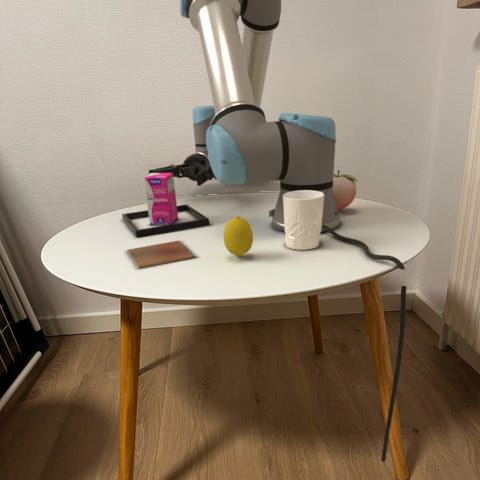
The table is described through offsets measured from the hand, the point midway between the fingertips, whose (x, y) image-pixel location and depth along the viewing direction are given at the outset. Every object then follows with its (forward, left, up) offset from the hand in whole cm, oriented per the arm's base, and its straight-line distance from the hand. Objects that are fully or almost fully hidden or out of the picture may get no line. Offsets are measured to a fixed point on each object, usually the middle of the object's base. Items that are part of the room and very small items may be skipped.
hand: (173, 180), depth 111 cm
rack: (-7, +5, -8) cm, 12 cm away
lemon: (-40, -1, -9) cm, 41 cm away
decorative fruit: (-23, -35, -9) cm, 43 cm away
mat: (-30, +12, -8) cm, 34 cm away
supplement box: (-7, +5, -9) cm, 12 cm away
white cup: (-40, -15, -9) cm, 44 cm away
